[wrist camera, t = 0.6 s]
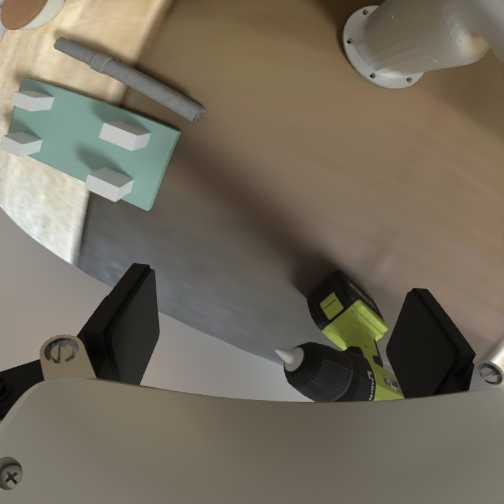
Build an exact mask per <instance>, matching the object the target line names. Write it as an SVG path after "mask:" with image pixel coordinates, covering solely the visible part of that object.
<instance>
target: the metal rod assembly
mask: <svg viewBox="0 0 504 504" xmlns="http://www.w3.org/2000/svg"><path fill="white" fill-rule="evenodd" d="M54 48H55V49H57V50H59V51H61V52H63V53H65V54H67V55H69V56H71V57H74V58H76V59H78V60H80V61H82V62H84V63H86V64H88V65H90V67H91V68H92V69H94V70H95V71H97V72H99V73H102V74H107V75H109V76H111V77H112V78H114V79H116V80H118V81H120V82H122V83H124V84H126V85H128V86H130V87H131V88H133V89H135V90H137V91H139V92H141V93H143V94H144V95H146V96H148V97H150V98H152V99H153V100H155V101H157V102H159V103H160V104H162V105H164V106H166V107H168V108H169V109H171V110H173V111H174V112H176V113H178V114H180V115H181V116H183V117H185V118H186V119H188V120H190V121H191V122H194V121H199V119H200V118H201V116H200V114H201V113H204V112H205V110H206V109H205V108H203V107H202V106H200V105H198V104H197V103H195V102H193V101H192V100H190V99H188V98H186V97H185V96H183V95H181V94H179V93H178V92H176V91H174V90H172V89H171V88H169V87H167V86H165V85H163V84H162V83H160V82H158V81H156V80H154V79H152V78H151V77H149V76H147V75H145V74H143V73H141V72H139V71H137V70H135V69H133V68H132V67H130V66H128V65H126V64H124V63H122V62H121V61H120V60H119V59H117V58H115V57H113V56H111V55H109V54H102V53H100V52H98V51H96V50H93V49H91V48H89V47H87V46H84V45H82V44H80V43H78V42H75V41H73V40H67V39H65V38H63V37H60V38H58V39H57V40H56V42H55V44H54Z"/></svg>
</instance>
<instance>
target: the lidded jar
mask: <svg viewBox="0 0 504 504" xmlns="http://www.w3.org/2000/svg"><path fill="white" fill-rule="evenodd" d="M64 3H65V0H4V1H3V4H2V7H1V13H0V19H1V23H2V25H3V26H4V27H5V28H6V29H10V30H33V29H37V28H40V27H42V26H44V25H45V24H47V23H48V22H50V21H51V20H52V19H54V18H55V17H56V16H57V15H58V14H59V13H60V11H61V10H62V8H63V6H64Z"/></svg>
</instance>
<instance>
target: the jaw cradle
mask: <svg viewBox="0 0 504 504" xmlns="http://www.w3.org/2000/svg"><path fill="white" fill-rule="evenodd" d="M10 104H11V105H14V106H15V110H14V114H13V118H12V122H11V127H10V131H9V135H4V136H3V138H2V143H1V148H2V149H4V150H6V151H8V152H10V153H12V154H14V155H16V156H18V157H23V156H26V155H27V156H29V157H32V158H34V159H36V160H38V161H40V162H42V163H45V164H47V165H49V166H51V167H53V168H55V169H57V170H60V171H62V172H64V173H66V174H68V175H70V176H73V177H75V178H77V179H79V180H81V181H83V182H86V183H85V187H84V188H86V189H88V190H90V191H92V192H95V193H97V194H99V195H101V196H103V197H105V198H107V199H110V200H112V201H114V202H116V201H117V200H119V199H123V200H125V201H127V202H129V203H131V204H134V205H136V206H138V207H140V208H142V209H144V210H147V211H149V210H150V209H151V208H152V205H153V202H154V200H155V197H156V194H157V191H158V189H159V186H160V183H161V181H162V178H163V176H164V173H165V170H166V168H167V165H168V163H169V160H170V158H171V156H172V153H173V151H174V148H175V146H176V143H177V141H178V139H179V136H180V134H181V132H182V131H179V130H177V129H175V128H172V127H170V126H167V125H165V124H162V123H160V122H157V121H155V120H152V119H150V118H147V117H144V116H142V115H139V114H136V113H134V112H131V111H128V110H126V109H123V108H120V107H118V106H115V105H112V104H109V103H106V102H103V101H101V100H98V99H95V98H92V97H89V96H86V95H83V94H80V93H77V92H74V91H70V90H67V89H64V88H61V87H58V86H54V85H51V84H48V83H44V82H41V81H37V80H34V79H30V78H24V79H23V82H22V85H21V88H20V91H14V93H13V96H12V100H11V103H10Z"/></svg>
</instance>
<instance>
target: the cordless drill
mask: <svg viewBox="0 0 504 504" xmlns="http://www.w3.org/2000/svg"><path fill="white" fill-rule="evenodd" d="M307 302H308V307H309V311H310V314H311V317H312V318H313V320H314V322H315V324H316V325H317V327H318V328H319V329H320V330H321V331H322V332H323V333H324V334H325V335H326V336H327V337H328V338H329V339H330V340H332V341H333V342H334V343H335V344H336V345H338V346H339V347H340V348H342V349H343V350H344V351H338V350H335V349H333V348H331V347H329V346H326V345H322V344H318V343H315V342H308V343H305V344H301V345H299V346H297V347H295V348H294V349H293V350H291V351H290V350H285V349H280V348H275V349H274V350H275V352H276V353H277V354H278V355H279V356H280V357H281V358H282V359H283V360H284V361H285V362H284V372H285V376H286V378H287V381H288V383H289V384H290V385H292V386H293V387H294V388H295V389H296V390H298V391H299V392H300V393H302V394H303V395H304V396H306V397H308V398H310V399H312V400H313V401H315V402H357V401H378V400H393V399H405V398H404V396H403V393H402V391H401V388H400V386H399V383H398V381H397V378H396V377H395V376H394V375H392V374H391V373H390V372H388V371H387V370H385V369H384V368H383V363H382V359H381V356H380V353H379V350H378V347H377V343H376V341H377V340H379V339H380V338H381V337H382V336H383V334H384V333H385V332H386V331H387V330H388V328H387V326H386V324H385V322H384V320H383V318H382V316H381V314H380V312H379V310H378V308H377V306H376V304H375V302H373V301H372V300H371V299H370V298H369V297H368V296H367V295H366V294H365V293H364V292H363V291H362V290H361V289H360V288H359V287H358V286H356V285H355V284H354V283H353V282H352V281H351V280H350V279H349V278H348V277H347V276H346V275H345V274H344V273H342V272H341V271H340V270H338V271H337V272H336V273H335V274H333V273H332V274H331V275H330V276H329V277H327V278H326V279H325V280H324V281H323V282H322V283H321V284H320V285H319V286H318V287H316V288H315V289H314V290H313V291H312V292H311V293H310V297H309V298H307Z"/></svg>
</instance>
